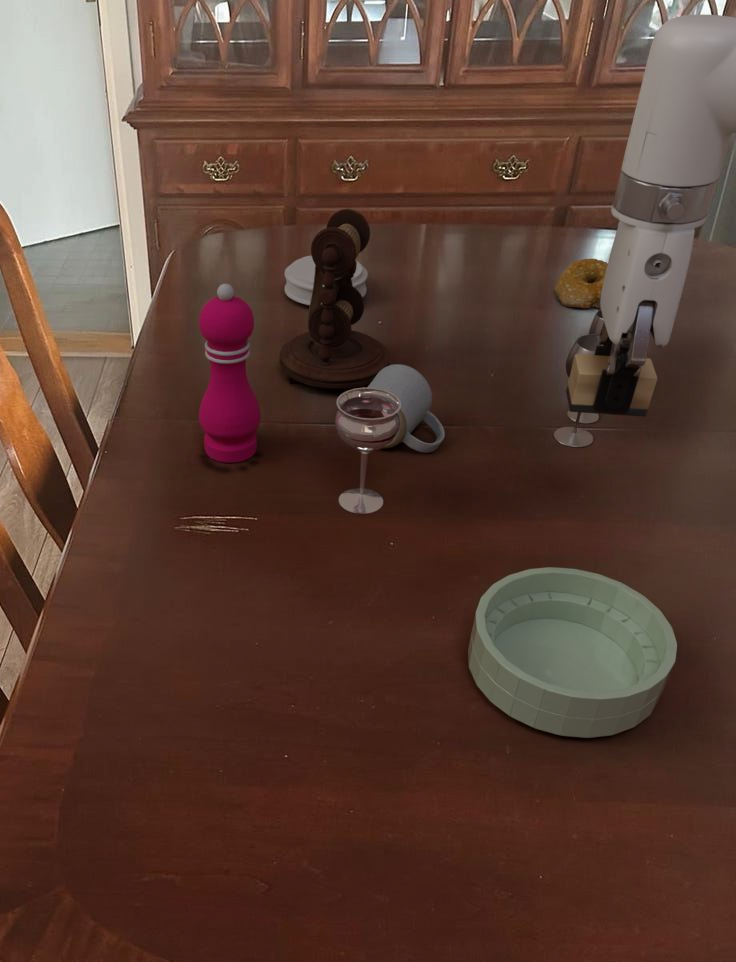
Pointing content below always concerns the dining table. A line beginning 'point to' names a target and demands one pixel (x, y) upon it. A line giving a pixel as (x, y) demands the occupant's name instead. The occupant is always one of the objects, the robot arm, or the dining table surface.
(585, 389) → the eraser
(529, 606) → the bowl
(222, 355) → the pepper mill
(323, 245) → the dark brown wooden stand
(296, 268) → the lid
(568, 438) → the goblet set
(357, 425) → the wineglass
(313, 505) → the dining table surface
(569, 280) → the bagel
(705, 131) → the robot arm
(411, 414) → the ceramic mug
